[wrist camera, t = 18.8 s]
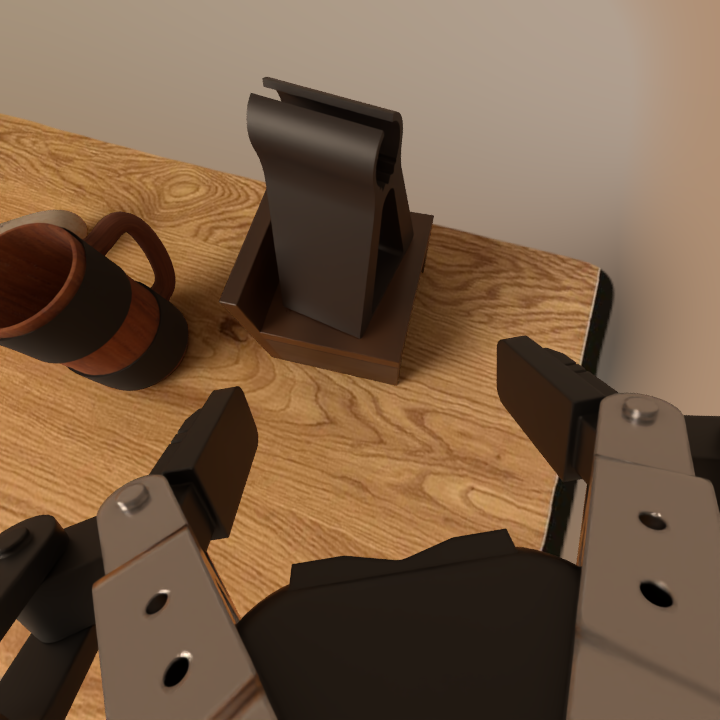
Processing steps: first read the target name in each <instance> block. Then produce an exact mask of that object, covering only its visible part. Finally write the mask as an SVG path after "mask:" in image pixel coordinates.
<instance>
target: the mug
mask: <svg viewBox="0 0 720 720" xmlns="http://www.w3.org/2000/svg"><path fill="white" fill-rule="evenodd" d="M125 232H127V233H128V234H130V235H131V236H132V237H133V238H134V240H135V241H136V242H137V243H138V244H139V246H140V247H141V249H142V250H143V252H144V253H145V255H146V256H147V258H148V260H149V262H150V264H151V266H152V269H153V271H154V274H155V282H154V284H153V286H152V287H151V288H149V287H148V286H146V285H145V284H143V283H141V282H138V281H134V280H133V279H132V278H130V277H129V276H128V275H126V273H125V272H124V271H123V270H122V269H121V268H120V267H119V266H118V265H116V264H115V263H113V262H112V261H110V260H109V259H108V258H107V257H105V255H106V253H107V252H108V251H109V250H110V249H111V248H112V247H113V246H114V244H115V243H116V242H117V241H118V239H119V238H120V237H121V236H122V235H123V234H124V233H125ZM174 289H175V272H174V268H173V265H172V262H171V259H170V257H169V255H168V253H167V251H166V249H165V247H164V245H163V244H162V242H161V240H160V239H159V237H158V236H157V235H156V233H155V232H154V231H153V230H152V229H151V227H150V226H149V225H148V224H147V223H145V222H144V221H143V220H142V219H141V218H139V217H137V216H135V215H133V214H131V213H126V212H114V213H111V214H109V215H107V216H105V217H103V218H102V219H101V220H100V221H99V222H98V223H97V225H96V226H95V227H94V228H93V230H92V231H91V232H90V233H89V234H88V235H87V236H86V238H84V239H81V238H80V237H78V236H77V235H76V234H74V233H73V232H71V231H70V230H68V229H66V228H63V227H59V226H56V225H53V224H48V223H30V224H25V225H21V226H18V227H14V228H12V229H10V230H7V231H5V232H3V233H1V234H0V345H1V346H4V347H7V348H10V349H12V350H15V351H18V352H20V353H23V354H25V355H28V356H30V357H33V358H36V359H38V360H41V361H43V362H48V363H60V364H62V365H65V366H67V367H68V368H69V369H70V370H72V371H73V372H75V373H77V374H79V375H81V376H83V377H86V378H88V379H90V380H93V381H95V382H98V383H100V384H103V385H106V386H108V387H111V388H115V389H119V390H126V391H133V390H140V389H144V388H147V387H149V386H152V385H154V384H156V383H158V382H160V381H161V380H163V379H165V378H166V377H167V376H169V375H170V374H171V373H172V372H173V371H174V370H175V369H176V368H177V367H178V365H179V364H180V362H181V361H182V359H183V357H184V355H185V352H186V349H187V344H188V326H187V323H186V320H185V318H184V316H183V314H182V313H181V312H180V311H179V310H178V309H177V308H176V307H175V306H174V305H173V304H172V303H170V302H169V300H170V298H171V296H172V294H173V292H174Z"/></svg>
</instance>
